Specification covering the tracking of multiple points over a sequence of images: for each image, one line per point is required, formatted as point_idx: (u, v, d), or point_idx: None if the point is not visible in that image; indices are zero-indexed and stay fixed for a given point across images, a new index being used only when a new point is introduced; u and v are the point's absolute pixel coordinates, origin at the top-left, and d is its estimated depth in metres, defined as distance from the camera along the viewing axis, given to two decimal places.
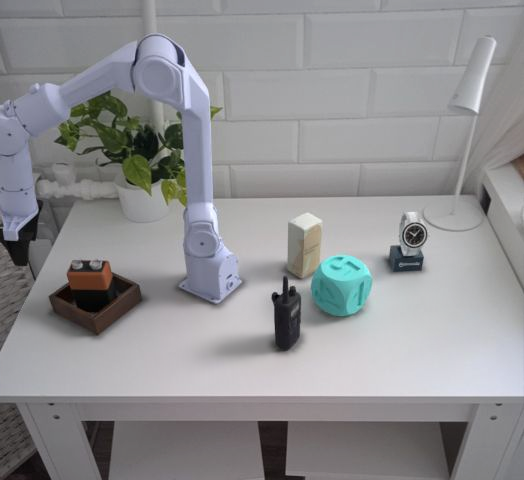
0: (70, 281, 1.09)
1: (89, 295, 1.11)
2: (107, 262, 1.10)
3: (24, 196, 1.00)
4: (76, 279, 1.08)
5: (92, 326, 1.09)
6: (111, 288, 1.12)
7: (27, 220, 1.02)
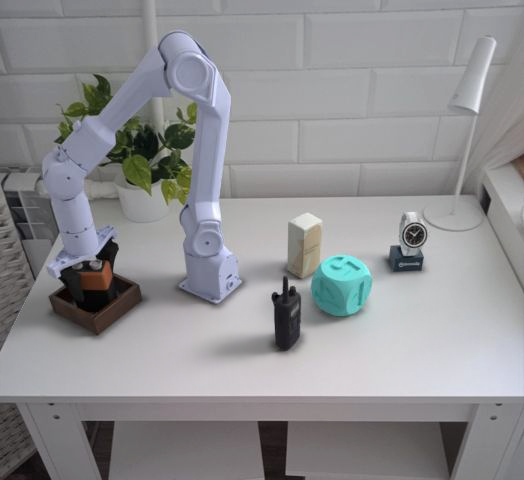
0: None
1: (89, 295, 1.11)
2: (107, 262, 1.10)
3: (74, 239, 1.02)
4: None
5: (92, 326, 1.09)
6: (111, 288, 1.12)
7: (75, 261, 1.03)
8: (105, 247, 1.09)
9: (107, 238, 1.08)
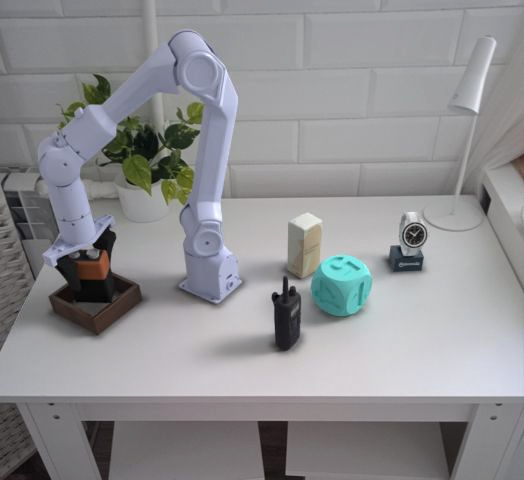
0: None
1: (86, 285, 1.09)
2: (104, 251, 1.08)
3: (70, 227, 1.00)
4: None
5: (92, 326, 1.09)
6: (109, 277, 1.10)
7: (72, 250, 1.02)
8: (102, 236, 1.07)
9: (104, 226, 1.06)
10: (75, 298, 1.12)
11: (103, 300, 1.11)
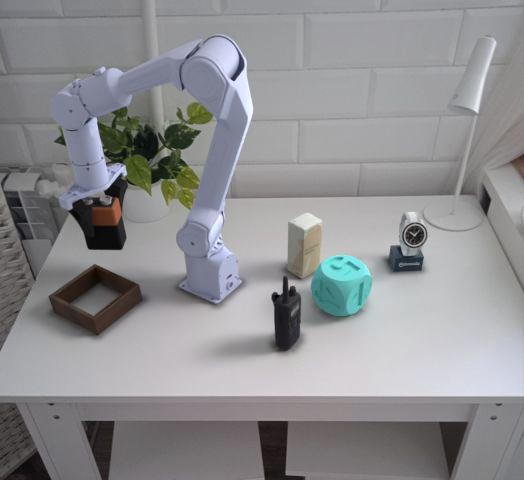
0: None
1: (99, 231, 1.14)
2: (116, 199, 1.13)
3: (85, 171, 1.05)
4: None
5: (92, 326, 1.09)
6: (120, 225, 1.15)
7: (87, 194, 1.07)
8: (115, 184, 1.13)
9: (117, 174, 1.11)
10: (88, 245, 1.17)
11: (115, 247, 1.16)
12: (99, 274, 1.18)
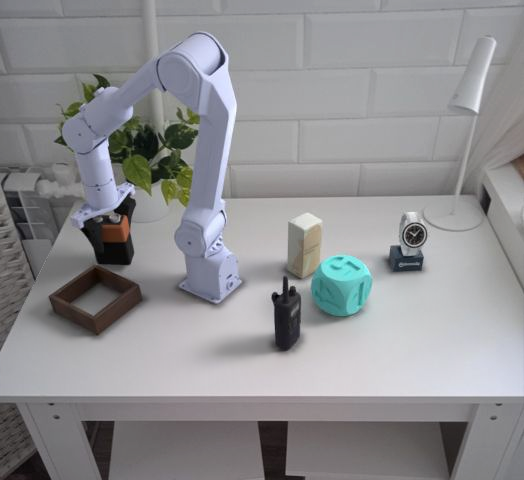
0: None
1: (108, 247, 1.20)
2: (125, 216, 1.19)
3: (96, 192, 1.10)
4: None
5: (92, 326, 1.09)
6: (129, 241, 1.21)
7: (97, 213, 1.12)
8: (124, 202, 1.18)
9: (126, 193, 1.17)
10: (97, 260, 1.22)
11: (123, 262, 1.22)
12: (99, 274, 1.18)
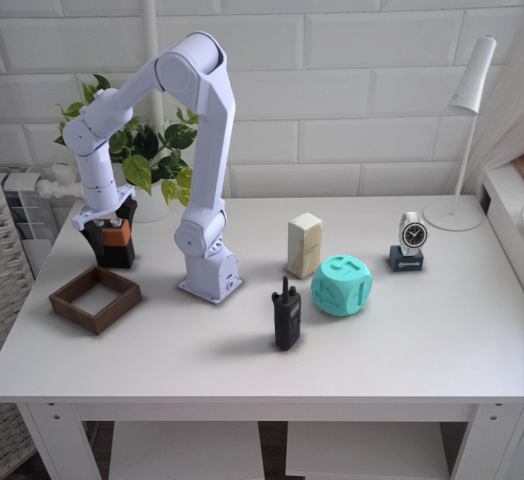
0: None
1: (109, 251, 1.20)
2: (126, 220, 1.19)
3: (97, 194, 1.11)
4: None
5: (92, 326, 1.09)
6: (130, 245, 1.21)
7: (98, 215, 1.13)
8: (125, 203, 1.18)
9: (126, 195, 1.17)
10: (98, 263, 1.23)
11: (124, 266, 1.23)
12: (99, 274, 1.18)
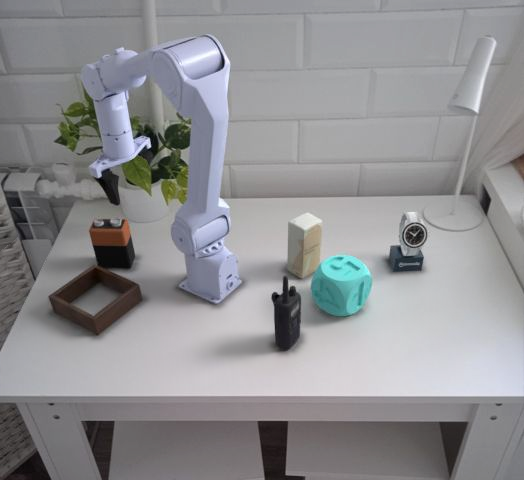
0: (92, 237, 1.18)
1: (109, 251, 1.20)
2: (126, 220, 1.19)
3: (114, 141, 1.13)
4: (97, 236, 1.18)
5: (92, 326, 1.09)
6: (130, 245, 1.22)
7: (115, 163, 1.15)
8: (141, 154, 1.20)
9: (142, 146, 1.19)
10: (98, 263, 1.23)
11: (124, 266, 1.23)
12: (99, 274, 1.18)
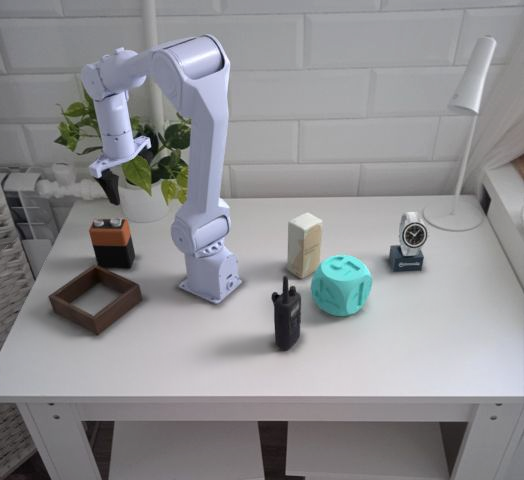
0: (92, 237, 1.18)
1: (109, 251, 1.20)
2: (126, 220, 1.19)
3: (114, 141, 1.13)
4: (97, 236, 1.18)
5: (92, 326, 1.09)
6: (130, 245, 1.22)
7: (115, 163, 1.15)
8: (141, 154, 1.20)
9: (142, 146, 1.19)
10: (98, 263, 1.23)
11: (124, 266, 1.23)
12: (99, 274, 1.18)
